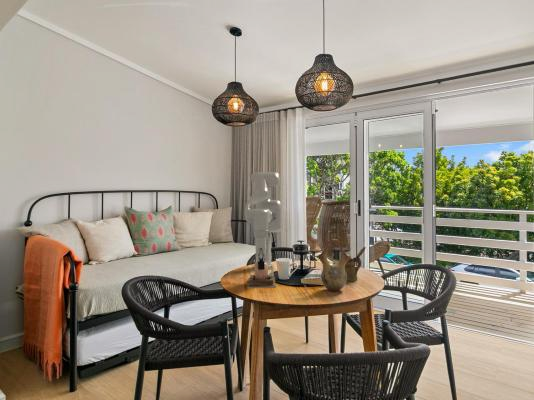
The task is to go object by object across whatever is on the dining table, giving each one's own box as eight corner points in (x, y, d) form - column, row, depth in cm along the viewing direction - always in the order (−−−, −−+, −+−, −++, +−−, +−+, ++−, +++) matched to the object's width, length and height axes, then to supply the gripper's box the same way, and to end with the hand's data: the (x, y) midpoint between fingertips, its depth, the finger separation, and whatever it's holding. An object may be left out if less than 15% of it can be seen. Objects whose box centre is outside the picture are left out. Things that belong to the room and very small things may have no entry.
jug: (254, 284, 166) (254, 264, 166) (255, 280, 173) (254, 261, 173) (273, 284, 166) (273, 264, 166) (273, 280, 173) (273, 261, 173)
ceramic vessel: (316, 292, 157) (316, 239, 156) (316, 287, 166) (316, 237, 165) (352, 293, 155) (352, 240, 154) (350, 287, 164) (350, 237, 163)
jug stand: (248, 280, 180) (248, 272, 180) (274, 279, 180) (274, 272, 180) (246, 291, 160) (246, 283, 160) (275, 290, 160) (275, 282, 160)
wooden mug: (366, 282, 173) (366, 248, 172) (340, 281, 175) (340, 247, 175) (364, 278, 182) (364, 245, 181) (339, 277, 184) (339, 244, 183)
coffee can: (330, 273, 193) (330, 249, 193) (335, 269, 202) (335, 246, 202) (348, 275, 188) (348, 250, 188) (352, 271, 198) (352, 247, 197)
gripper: (254, 232, 178) (254, 264, 178) (253, 235, 160) (253, 271, 160) (268, 232, 178) (268, 264, 178) (268, 235, 160) (268, 271, 160)
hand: (261, 267), depth 169 cm, fingers open, 9 cm apart
